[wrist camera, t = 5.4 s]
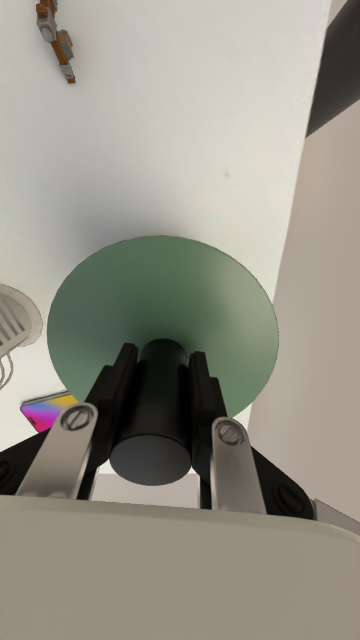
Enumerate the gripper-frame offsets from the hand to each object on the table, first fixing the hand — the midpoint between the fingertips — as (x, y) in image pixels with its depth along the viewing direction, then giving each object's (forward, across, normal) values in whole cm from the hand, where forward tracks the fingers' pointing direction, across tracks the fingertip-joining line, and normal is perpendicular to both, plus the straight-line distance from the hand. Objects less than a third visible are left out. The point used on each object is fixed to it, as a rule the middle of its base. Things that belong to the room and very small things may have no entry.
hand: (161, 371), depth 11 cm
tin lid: (+2, 0, 0) cm, 2 cm away
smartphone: (+18, +15, +25) cm, 34 cm away
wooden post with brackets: (+19, +12, -22) cm, 32 cm away
